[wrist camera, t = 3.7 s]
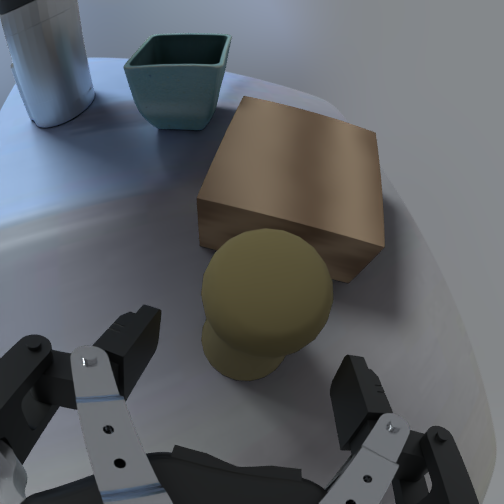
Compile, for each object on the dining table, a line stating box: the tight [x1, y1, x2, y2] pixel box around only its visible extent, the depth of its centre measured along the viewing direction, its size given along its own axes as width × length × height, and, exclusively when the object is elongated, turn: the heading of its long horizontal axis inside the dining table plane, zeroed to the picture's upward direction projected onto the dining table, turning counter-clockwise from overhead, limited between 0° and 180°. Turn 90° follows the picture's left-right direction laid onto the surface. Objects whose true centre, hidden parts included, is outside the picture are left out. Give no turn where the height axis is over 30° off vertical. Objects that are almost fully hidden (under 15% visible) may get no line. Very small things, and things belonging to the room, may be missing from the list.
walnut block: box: [197, 96, 385, 283], centre depth 23 cm, size 12×12×6 cm
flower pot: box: [124, 33, 232, 130], centre depth 26 cm, size 9×9×9 cm
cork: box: [201, 228, 333, 381], centre depth 15 cm, size 6×6×11 cm
